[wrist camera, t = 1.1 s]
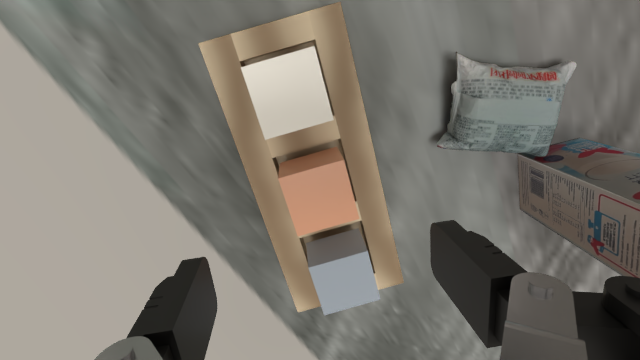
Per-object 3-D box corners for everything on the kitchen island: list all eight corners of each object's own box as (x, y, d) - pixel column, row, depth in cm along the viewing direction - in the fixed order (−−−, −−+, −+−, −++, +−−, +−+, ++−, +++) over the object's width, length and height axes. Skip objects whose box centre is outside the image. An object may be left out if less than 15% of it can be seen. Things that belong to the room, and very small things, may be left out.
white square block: (310, 47, 26) (314, 45, 22) (327, 111, 28) (333, 120, 24) (247, 66, 26) (240, 67, 22) (268, 129, 28) (264, 139, 24)
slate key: (358, 228, 31) (367, 251, 28) (370, 272, 33) (380, 299, 29) (306, 242, 32) (308, 267, 28) (320, 286, 33) (324, 315, 29)
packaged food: (444, 52, 32) (470, 52, 27) (561, 61, 33) (605, 63, 29) (427, 143, 35) (448, 157, 30) (535, 149, 36) (571, 163, 32)
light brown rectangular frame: (332, 10, 30) (340, 1, 25) (390, 257, 39) (403, 282, 34) (211, 45, 30) (198, 43, 26) (297, 283, 39) (297, 312, 34)
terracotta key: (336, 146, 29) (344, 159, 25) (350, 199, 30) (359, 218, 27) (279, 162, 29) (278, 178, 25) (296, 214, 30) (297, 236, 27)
